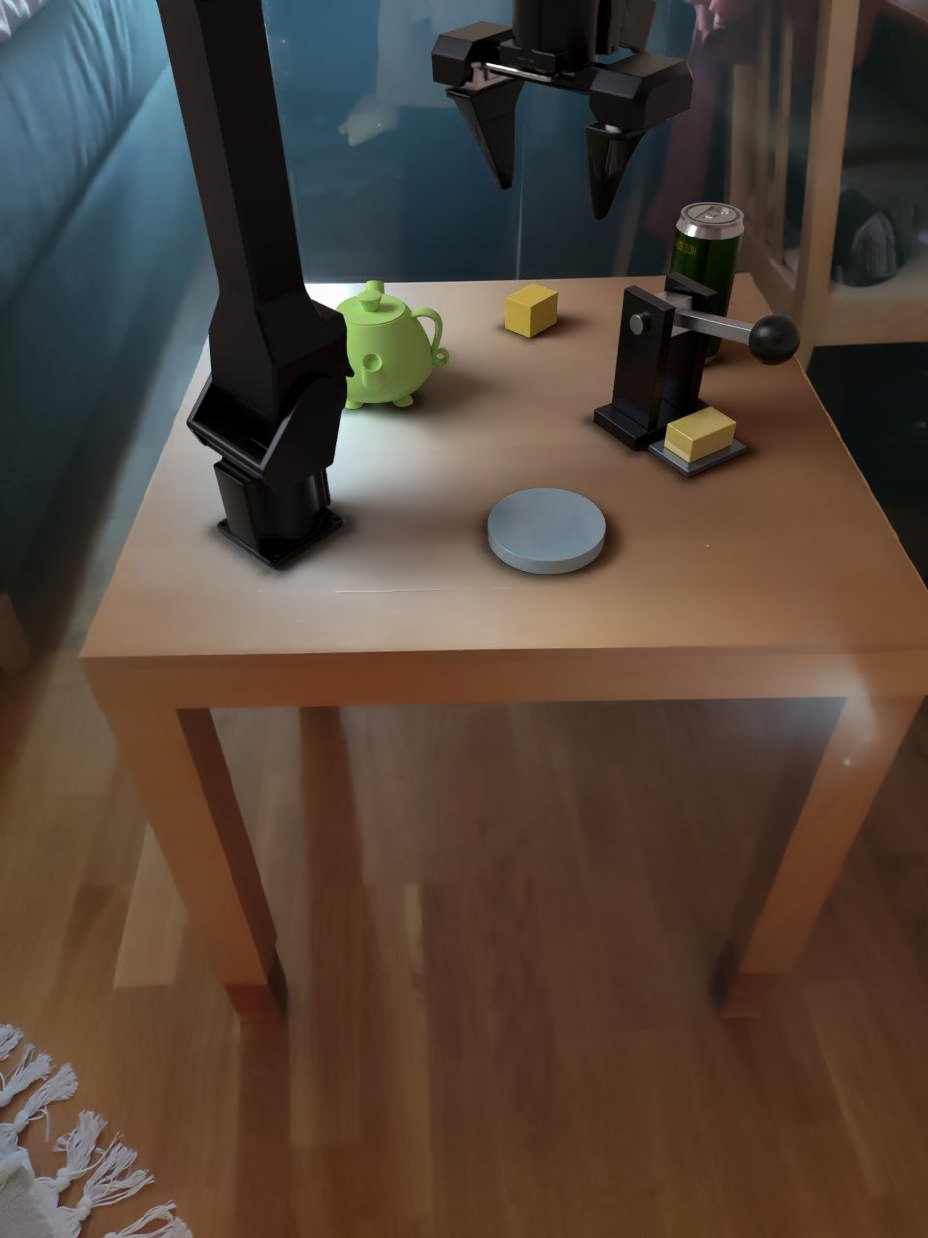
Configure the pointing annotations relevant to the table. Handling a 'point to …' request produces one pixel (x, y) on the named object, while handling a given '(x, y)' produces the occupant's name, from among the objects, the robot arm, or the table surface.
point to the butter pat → (531, 310)
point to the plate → (546, 530)
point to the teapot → (388, 347)
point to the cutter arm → (739, 330)
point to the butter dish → (698, 464)
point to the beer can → (709, 253)
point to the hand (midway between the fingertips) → (551, 202)
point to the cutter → (656, 365)
